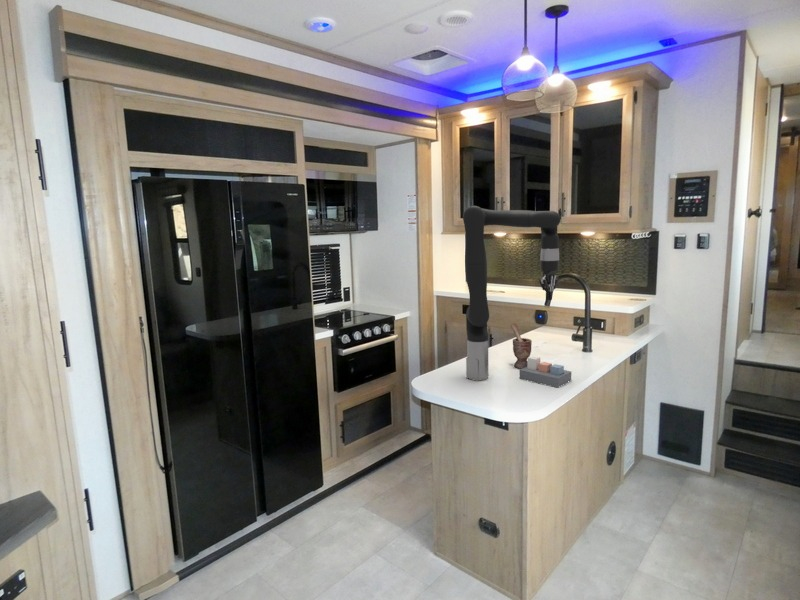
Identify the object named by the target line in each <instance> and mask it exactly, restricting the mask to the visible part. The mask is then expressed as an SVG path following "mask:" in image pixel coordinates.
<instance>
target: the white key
mask: <svg viewBox="0 0 800 600" xmlns="http://www.w3.org/2000/svg"><path fill="white" fill-rule="evenodd" d="M540 363H541V357H539V356H536V355H535V356H534V355H530V356H529V357H528V358H527V369H531V370H538V369H539V364H540Z"/></svg>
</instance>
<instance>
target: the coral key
mask: <svg viewBox="0 0 800 600" xmlns="http://www.w3.org/2000/svg"><path fill="white" fill-rule="evenodd" d="M552 365H553V364H552V362H551V363H550V362H546V361H542V362H540V364H539V371H540V372H545V373H549V372H550V370H551V366H552Z"/></svg>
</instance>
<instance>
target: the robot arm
mask: <svg viewBox="0 0 800 600" xmlns="http://www.w3.org/2000/svg"><path fill="white" fill-rule="evenodd" d="M561 219H562V218H561V216H560V214H559V213H558V212H557V211H554V210H537V211H536V210H531V209H529V210H527V209H526V210H524V209H521V210H520V209H509V210H508V209H507V210H505V209H504V210H499V209H498V210H496V209H494V210H493V209H488V208H482V207H480V206H477V205H471V206H468V207H467V208H466V209H465V211H463V214H462V221H463V224H464V231H465V251H464V253H465V255H464V267H465V268H464V269H465V270H464V271H465V279H466V284H467V288H468V289H467V290H468V294H469V306H468V307H467V309H466V312H465V326H466V328H465V329H466V336H467V338H466V339H467V340H466V341H467V342H466V344H467V348H466V349H467V350H466V351H467V352H466V353H467V357H466V358H465V359H466V361H465V363H466V364H465V367H466V369H465V371H466V372H465V374H466V379H468V378H469V380H473V381H477V382H478V381H484V380H487V379H489V331H488V322H489V320H490V311H489V303H488V296H487V293H488V292H487V291H488V288H487V287H488V263H487V260H488V259H487V252H486V247H485V239H484V238H485V236H484V235H485V234H484V233H485V231H484V230H485V227H486V226H503V227H514V228H540V231H541V233H540V234H541V241H540V242H541V243H540V247H541V249H540V257H539V258H540V262H539V263H540V264H539V267H540V268H539V269H540V271H541V272H542V278H539V280H538V281H539V283H540V286H541V289H542V290H543V291H545V300H546V301H552V300H553V292H554V290H556V288H557V285H558V283H559V280H560V276H557V272H558V271H559V269H560V248H559V247H560V241H559V239H560V237H559V234H558V226H559V224H561Z"/></svg>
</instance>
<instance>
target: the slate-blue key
mask: <svg viewBox="0 0 800 600" xmlns="http://www.w3.org/2000/svg"><path fill="white" fill-rule="evenodd" d="M564 370H565V366H564V365H562V364H556V363H554V364H552V366H551V370H550V374H554V375H559V376H560V375H562V374H564Z"/></svg>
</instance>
